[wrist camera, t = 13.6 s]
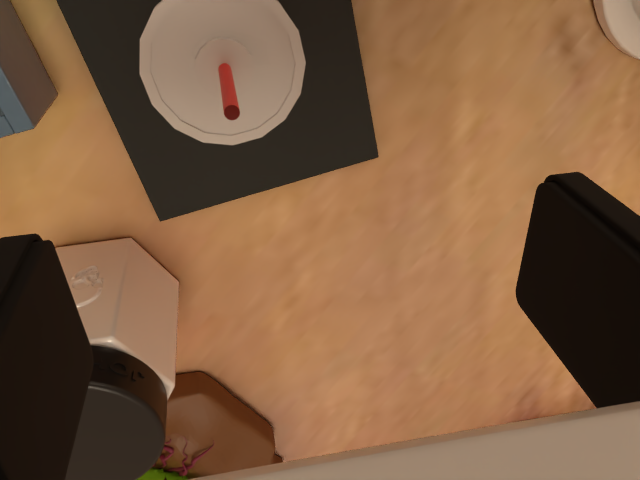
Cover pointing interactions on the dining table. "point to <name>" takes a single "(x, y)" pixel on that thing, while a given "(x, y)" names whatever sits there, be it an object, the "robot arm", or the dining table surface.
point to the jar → (122, 356)
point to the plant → (210, 433)
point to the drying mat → (248, 157)
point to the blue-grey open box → (20, 77)
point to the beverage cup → (222, 67)
